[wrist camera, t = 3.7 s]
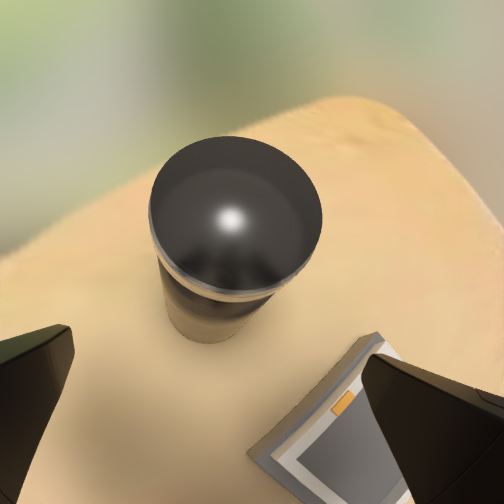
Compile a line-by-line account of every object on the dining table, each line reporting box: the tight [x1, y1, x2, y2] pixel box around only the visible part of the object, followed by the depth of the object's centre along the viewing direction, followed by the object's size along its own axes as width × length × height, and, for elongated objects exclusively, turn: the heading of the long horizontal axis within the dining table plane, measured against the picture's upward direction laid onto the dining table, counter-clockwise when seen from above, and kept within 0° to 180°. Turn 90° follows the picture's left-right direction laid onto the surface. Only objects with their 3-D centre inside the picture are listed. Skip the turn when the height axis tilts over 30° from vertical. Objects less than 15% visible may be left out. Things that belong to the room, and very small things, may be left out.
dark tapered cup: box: [148, 136, 322, 344], centre depth 16 cm, size 6×6×13 cm
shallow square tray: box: [246, 332, 412, 504], centre depth 18 cm, size 11×12×4 cm
